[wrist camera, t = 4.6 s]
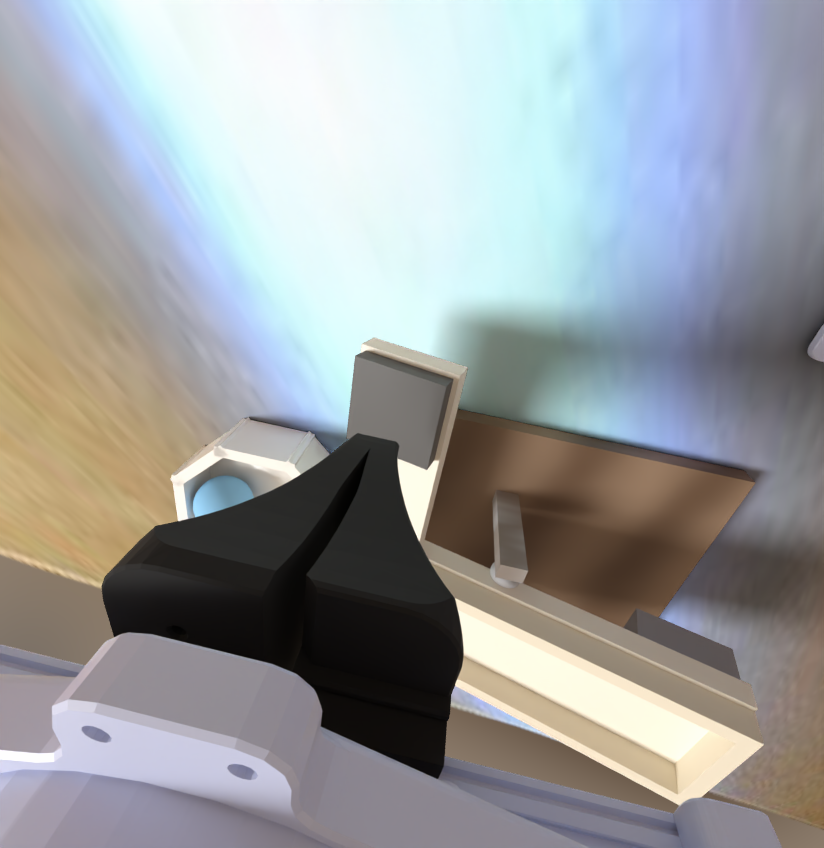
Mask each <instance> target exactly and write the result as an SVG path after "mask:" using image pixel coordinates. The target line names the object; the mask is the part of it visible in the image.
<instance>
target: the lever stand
mask: <svg viewBox="0 0 824 848" xmlns="http://www.w3.org/2000/svg"><path fill="white" fill-rule="evenodd" d="M754 484H755V482H754V481H753V479H752V478H751V477H750V476H749V475H748V474H747V473H746V472H745V471H743V470H738V469H734V468H729V467H725V466H720V465H715V464H711V463H706V462H701V461H697V460H692V459H688V458H683V457H678V456H674V455H669V454H664V453H660V452H655V451H650V450H646V449H641V448H637V447H632V446H627V445H623V444H618V443H613V442H609V441H604V440H599V439H595V438H590V437H586V436H581V435H576V434H572V433H567V432H562V431H558V430H553V429H548V428H544V427H539V426H535V425H530V424H525V423H521V422H516V421H511V420H507V419H502V418H497V417H493V416H488V415H484V414H479V413H474V412H470V411H465V410H460V409H457V413H456V417H455V421H454V425H453V429H452V433H451V437H450V441H449V445H448V449H447V453H446V457H445V461H444V465H443V469H442V473H441V477H440V481H439V485H438V489H437V493H436V497H435V501H434V505H433V508H432V512H431V516H430V520H429V524H428V528H427V532H426V536H425V540H426V541H429V542H431V543H433V544H435V545H438V546H440V547H442V548H444V549H447V550H449V551H451V552H453V553H456V554H458V555H460V556H462V557H465V558H467V559H469V560H471V561H474V562H476V563H478V564H480V565H483V566H485V567H487V568H489V569H490V568H491V566H492V564H493V563H494V562H495V577H497V578H501V579H505V580H510V581H514V582H518V583H523V584H525V585H528V586H530V587H532V588H534V589H537V590H539V591H541V592H543V593H546V594H548V595H550V596H552V597H555V598H557V599H559V600H561V601H564V602H566V603H568V604H570V605H573V606H575V607H577V608H579V609H582V610H584V611H586V612H588V613H591V614H593V615H595V616H597V617H600V618H602V619H604V620H606V621H609V622H611V623H613V624H615V625H618V626H620V627H622V628H623V627H624V626H625V624H626V623H627V621H628V620H629V618H630V617H631V616H632V614H633V613H634V611H635V610H636V608H637V609H640V610H642V611H644V612H647V613H649V614H651V615H654V616H656V617H659V616H660V614H661V613H662V612H663V610H664V609H665V607H666V606H667V605H668V603H669V602H670V600H671V599H672V598H673V596H674V595H675V594H676V592H677V591H678V589H679V588H680V587H681V585H682V584H683V582H684V581H685V580H686V578H687V577H688V576H689V574H690V573H691V571H692V570H693V569H694V567H695V566H696V565H697V563H698V562H699V560H700V559H701V558H702V556H703V555H704V553H705V552H706V551H707V549H708V548H709V547H710V545H711V544H712V542H713V541H714V540H715V538H716V537H717V535H718V534H719V533H720V531H721V530H722V529H723V527H724V526H725V524H726V523H727V522H728V520H729V519H730V517H731V516H732V515H733V513H734V512H735V511H736V509H737V508H738V506H739V505H740V504H741V502H742V501H743V499H744V498H745V497H746V495H747V494H748V493H749V491H750V490H751V488H752V487H753V486H754Z"/></svg>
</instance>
